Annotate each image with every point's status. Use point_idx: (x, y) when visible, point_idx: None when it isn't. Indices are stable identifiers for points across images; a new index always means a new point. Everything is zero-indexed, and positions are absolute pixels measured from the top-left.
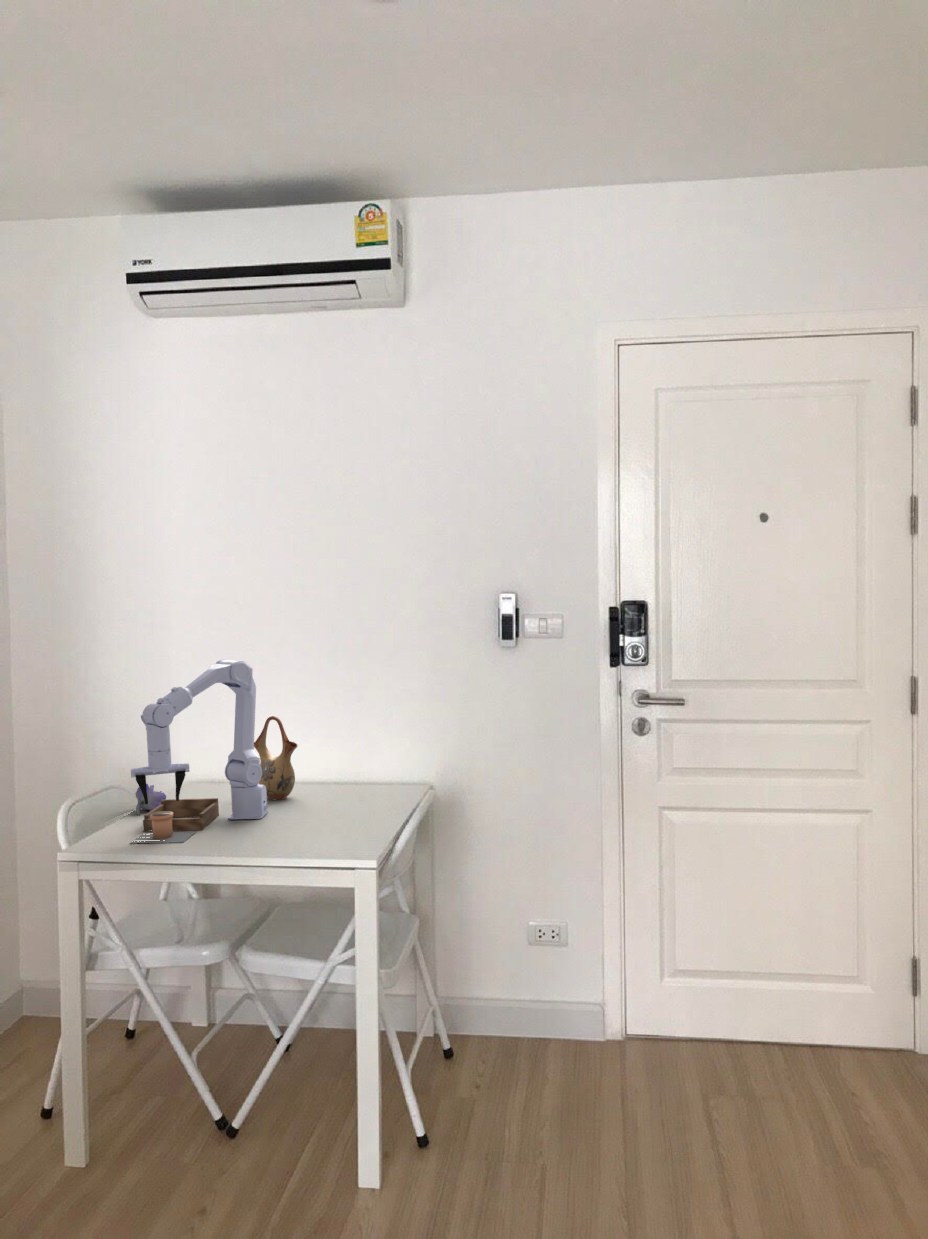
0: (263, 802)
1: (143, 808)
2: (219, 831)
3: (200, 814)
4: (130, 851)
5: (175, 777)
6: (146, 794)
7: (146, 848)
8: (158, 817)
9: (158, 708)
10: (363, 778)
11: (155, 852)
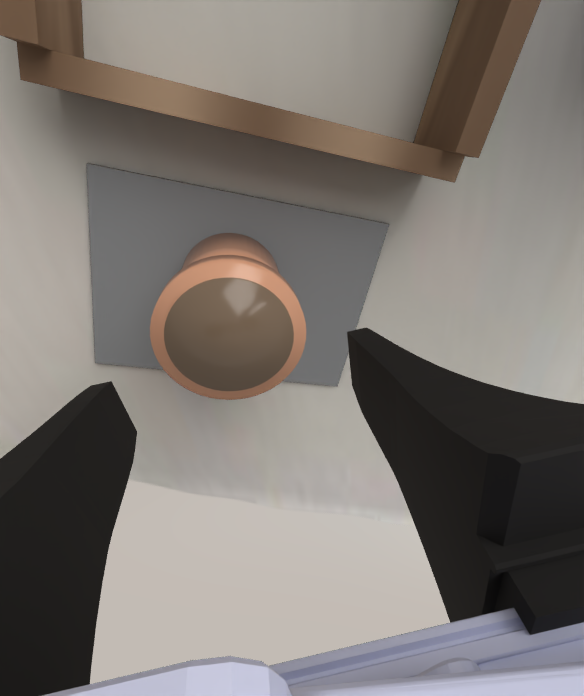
0: None
1: None
2: (495, 235)
3: (461, 153)
4: (147, 452)
5: (449, 509)
6: (113, 517)
7: (200, 427)
8: (226, 397)
9: None
10: None
11: (248, 472)
